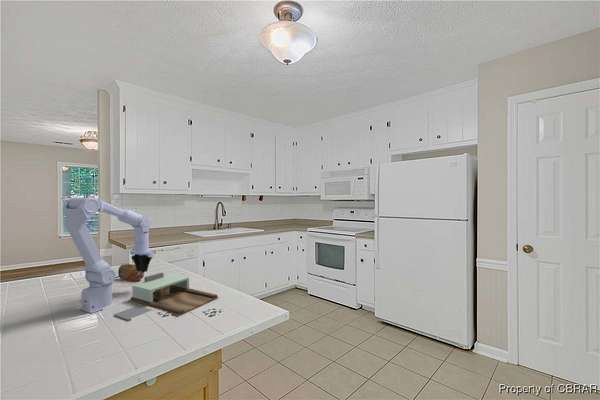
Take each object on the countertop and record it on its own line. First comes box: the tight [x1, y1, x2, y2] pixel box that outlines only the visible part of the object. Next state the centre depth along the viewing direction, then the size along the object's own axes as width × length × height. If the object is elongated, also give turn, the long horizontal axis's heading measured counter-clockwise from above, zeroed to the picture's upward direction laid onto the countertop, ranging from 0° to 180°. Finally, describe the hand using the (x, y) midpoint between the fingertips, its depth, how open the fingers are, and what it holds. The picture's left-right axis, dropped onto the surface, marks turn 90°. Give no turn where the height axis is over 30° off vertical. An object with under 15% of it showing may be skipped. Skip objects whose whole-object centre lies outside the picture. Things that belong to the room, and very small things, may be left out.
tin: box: [117, 263, 145, 282], centre depth 144 cm, size 15×3×8 cm, turn 73°
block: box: [154, 286, 169, 298], centre depth 120 cm, size 4×4×5 cm
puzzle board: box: [129, 285, 219, 317], centre depth 116 cm, size 20×30×2 cm, turn 62°
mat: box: [113, 305, 152, 322], centre depth 103 cm, size 9×9×1 cm
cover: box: [131, 272, 190, 302], centre depth 120 cm, size 18×12×7 cm, turn 152°
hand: (142, 271), depth 126 cm, fingers open, 3 cm apart
